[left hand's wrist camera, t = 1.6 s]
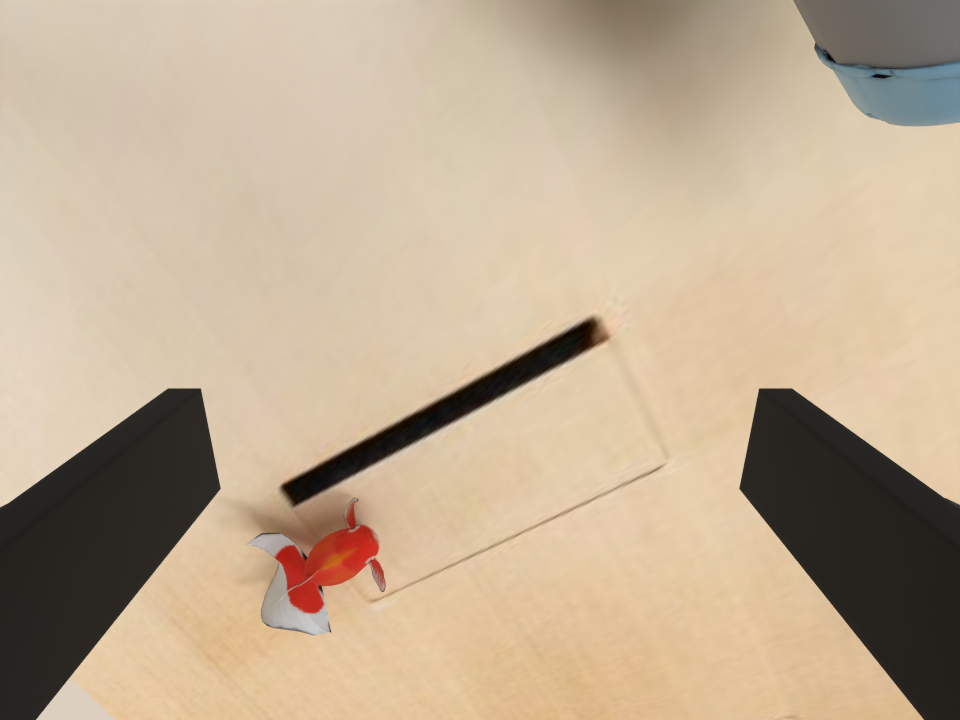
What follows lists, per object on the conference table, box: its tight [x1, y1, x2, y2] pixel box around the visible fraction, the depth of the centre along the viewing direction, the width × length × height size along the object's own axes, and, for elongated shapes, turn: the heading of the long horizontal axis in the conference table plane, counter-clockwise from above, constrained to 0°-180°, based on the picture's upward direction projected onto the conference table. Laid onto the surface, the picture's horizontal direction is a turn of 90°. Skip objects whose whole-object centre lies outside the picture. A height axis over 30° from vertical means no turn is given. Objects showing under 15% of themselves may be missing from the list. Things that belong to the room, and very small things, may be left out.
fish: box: [247, 498, 385, 635], centre depth 47 cm, size 11×16×10 cm
